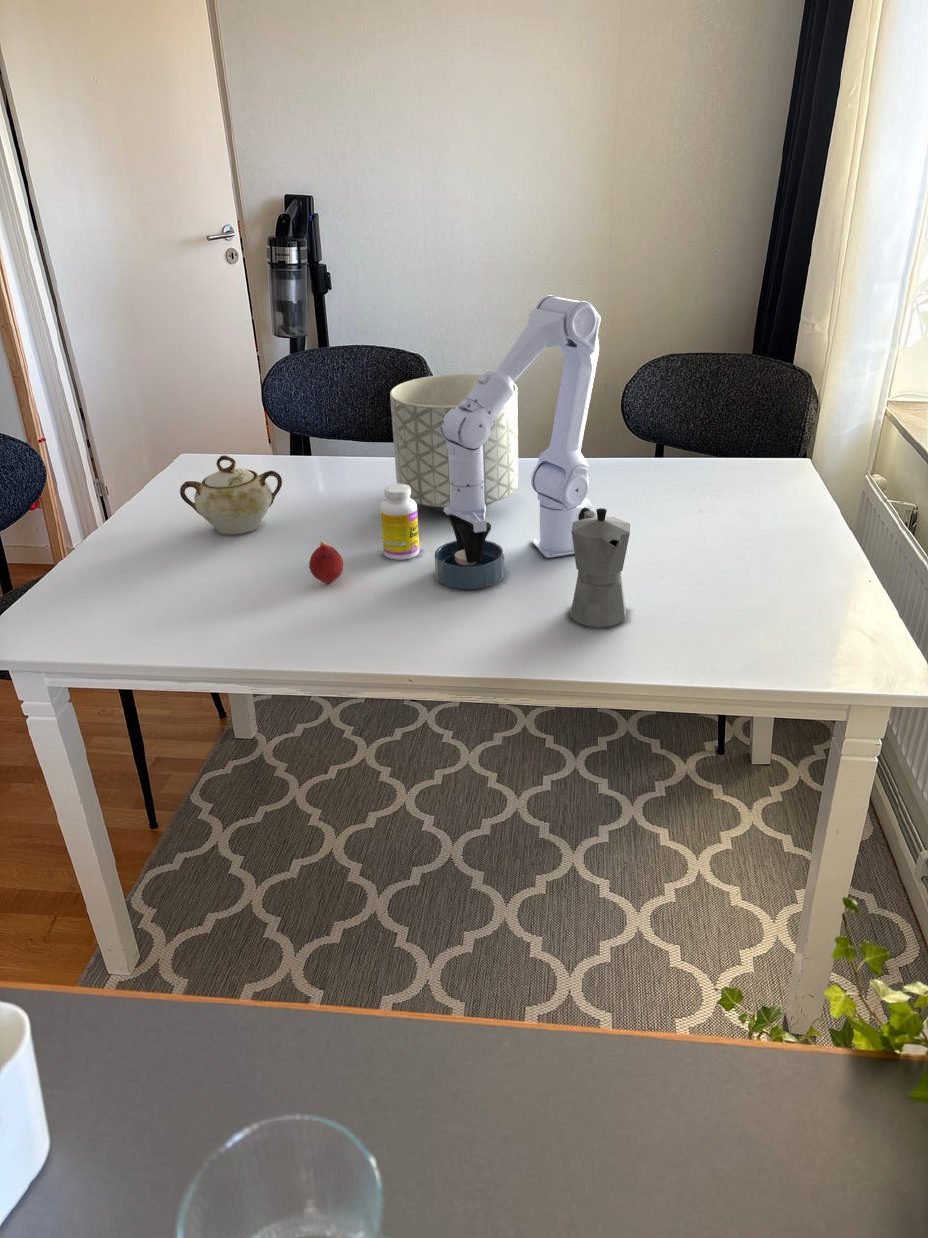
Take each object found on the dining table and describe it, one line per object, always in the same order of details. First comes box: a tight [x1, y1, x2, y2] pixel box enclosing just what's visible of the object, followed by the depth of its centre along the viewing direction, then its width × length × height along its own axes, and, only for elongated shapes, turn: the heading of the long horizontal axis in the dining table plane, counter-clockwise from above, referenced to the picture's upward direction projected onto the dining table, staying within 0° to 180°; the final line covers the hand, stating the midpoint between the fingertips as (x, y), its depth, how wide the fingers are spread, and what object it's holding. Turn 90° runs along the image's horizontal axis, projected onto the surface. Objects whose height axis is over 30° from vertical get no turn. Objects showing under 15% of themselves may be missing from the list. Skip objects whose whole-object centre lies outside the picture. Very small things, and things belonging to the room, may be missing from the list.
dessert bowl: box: [434, 539, 506, 590], centre depth 164 cm, size 12×12×4 cm
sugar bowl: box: [179, 454, 283, 536], centre depth 186 cm, size 20×15×15 cm
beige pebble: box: [455, 550, 476, 566], centre depth 163 cm, size 4×5×2 cm
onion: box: [308, 540, 344, 585], centre depth 162 cm, size 6×6×8 cm
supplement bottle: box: [379, 483, 420, 561], centre depth 172 cm, size 7×7×13 cm
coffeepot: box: [570, 507, 631, 628], centre depth 147 cm, size 15×9×18 cm, turn 13°
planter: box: [389, 373, 519, 513], centre depth 191 cm, size 25×25×24 cm
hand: (469, 556), depth 163 cm, fingers closed on beige pebble, 4 cm apart
